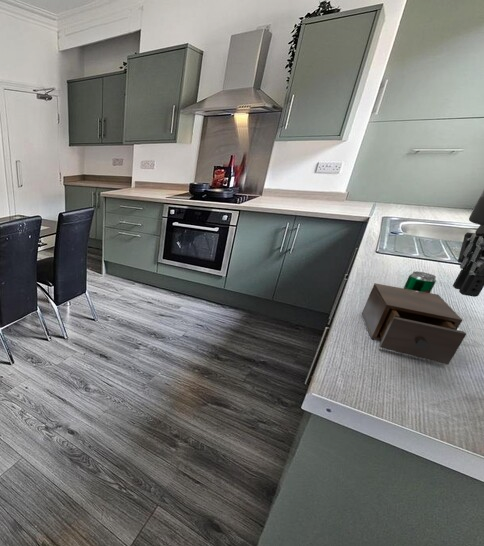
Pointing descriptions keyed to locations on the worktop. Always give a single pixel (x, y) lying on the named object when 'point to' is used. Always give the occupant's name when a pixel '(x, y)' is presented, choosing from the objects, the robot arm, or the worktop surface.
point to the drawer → (420, 336)
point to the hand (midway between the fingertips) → (464, 291)
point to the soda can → (420, 282)
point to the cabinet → (403, 306)
